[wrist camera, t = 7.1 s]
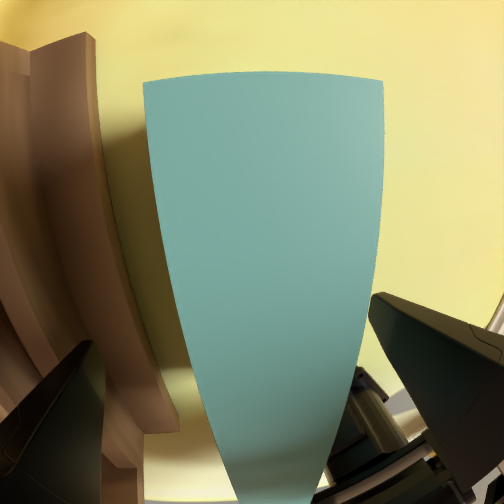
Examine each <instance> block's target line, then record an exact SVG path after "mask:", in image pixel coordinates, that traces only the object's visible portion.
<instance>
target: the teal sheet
mask: <svg viewBox="0 0 504 504" xmlns="http://www.w3.org/2000/svg"><path fill="white" fill-rule="evenodd" d="M143 94H144V107H145V118H146V129H147V138H148V147H149V155H150V163H151V171H152V178H153V185H154V192H155V199H156V205H157V211H158V217H159V223H160V229H161V234H162V240H163V245H164V251H165V256H166V261H167V266H168V270H169V275H170V280H171V285H172V289H173V294H174V298H175V302H176V307H177V311H178V315H179V319H180V323H181V327H182V331H183V335H184V339H185V343H186V347H187V350H188V354H189V358H190V361H191V365H192V368H193V372H194V375H195V379H196V382H197V386H198V389H199V392H200V395H201V399H202V402H203V405H204V408H205V411H206V414H207V418H208V421H209V424H210V427H211V430H212V433H213V435H214V438H215V441H216V444H217V447H218V450H219V452H220V455H221V458H222V461H223V463H224V466H225V469H226V471H227V474H228V476H229V479H230V481H231V484H232V487H233V489H234V491H235V494H236V496H237V499H238V501H239V503H240V504H310V502H311V500H312V498H313V495H314V493H315V491H316V488H317V486H318V483H319V481H320V478H321V476H322V473H323V471H324V468H325V465H326V463H327V460H328V457H329V454H330V452H331V449H332V446H333V443H334V440H335V437H336V434H337V431H338V428H339V425H340V421H341V418H342V415H343V412H344V408H345V405H346V401H347V398H348V394H349V391H350V387H351V383H352V380H353V376H354V372H355V368H356V364H357V359H358V355H359V351H360V346H361V342H362V337H363V332H364V328H365V323H366V317H367V312H368V307H369V301H370V295H371V289H372V283H373V276H374V269H375V262H376V254H377V246H378V237H379V228H380V217H381V205H382V190H383V170H384V96H383V81H380V80H373V79H367V78H359V77H351V76H343V75H332V74H320V73H304V72H232V73H216V74H203V75H193V76H184V77H176V78H169V79H162V80H156V81H150V82H144V83H143Z"/></svg>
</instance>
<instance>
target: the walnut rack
mask: <svg viewBox="0 0 504 504" xmlns="http://www.w3.org/2000/svg"><path fill="white" fill-rule="evenodd" d="M83 340H95V341H96V343H97V345H98V347H99V349H100V351H101V354H102V356H103V358H104V361H105V411H104V422H103V435H102V453H101V504H144V475H143V438H144V434H152V433H168V432H179V416H178V414H177V412H176V410H175V407H174V405H173V403H172V400H171V398H170V396H169V393H168V391H167V388H166V386H165V383H164V381H163V378H162V376H161V373H160V371H159V368H158V366H157V363H156V360H155V358H154V355H153V352H152V349H151V347H150V344H149V341H148V338H147V335H146V332H145V329H144V326H143V323H142V320H141V317H140V314H139V311H138V307H137V304H136V301H135V298H134V294H133V291H132V287H131V284H130V280H129V277H128V273H127V269H126V265H125V262H124V258H123V254H122V250H121V245H120V241H119V237H118V233H117V228H116V224H115V219H114V214H113V209H112V204H111V199H110V193H109V188H108V182H107V176H106V170H105V163H104V156H103V149H102V141H101V132H100V123H99V113H98V100H97V85H96V57H95V39H94V38H93V37H92V36H91V35H89V34H88V33H87V32H83V33H80V34H76V35H73V36H70V37H67V38H64V39H62V40H59V41H56V42H53V43H51V44H48V45H45V46H43V47H40V48H38V49H36V50H33V51H31V52H30V51H27V50H24V49H21V48H19V47H16V46H13V45H10V44H7V43H4V42H1V41H0V423H1V422H2V421H3V420H4V419H5V418H6V417H7V416H8V415H9V413H10V412H11V411H12V410H13V409H14V408H15V407H16V406H18V404H19V403H20V402H21V401H22V400H23V399H24V398H25V397H26V396H27V395H28V394H29V393H30V392H31V391H32V390H33V388H34V387H35V386H36V385H37V384H38V383H39V382H40V381H41V380H42V379H43V378H44V377H45V376H46V375H47V374H48V373H49V372H50V371H51V370H52V369H53V368H54V367H55V366H56V365H57V364H58V363H60V362H61V361H62V360H63V359H64V358H65V357H66V356H67V355H68V354H69V353H70V352H71V351H72V350H73V349H74V348H75V347H76V346H77V345H78V344H79V343H80V342H81V341H83Z"/></svg>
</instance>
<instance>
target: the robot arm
mask: <svg viewBox="0 0 504 504" xmlns="http://www.w3.org/2000/svg"><path fill="white" fill-rule="evenodd" d="M368 318H369V321H370V323H371V325H372V327H373V330H374V332H375V334H376V336H377V338H378V340H379V342H380V344H381V346H382V348H383V350H384V352H385V354H386V356H387V358H388V360H389V361H390V363H391V364H392V366H393V368H394V369H395V371H396V373H397V374H398V376H399V378H400V379H401V381H402V383H403V385H404V386H405V388H406V390H407V391H408V393H409V395H410V397H411V398H412V400H413V402H414V403H415V405H416V407H417V409H418V411H419V412H420V414H421V416H422V418H423V419H424V421H425V423H426V425H427V427H428V428H429V429H428V428H427V429H426V430H424V431H423V432H422V433H421V435H420V436H418V437H417V438H415V439H414V440H412V441H411V442H408V441H407V439H406V438H405V436H404V434H403V433H402V431H401V430H400V428H399V427H398V425H397V423H396V422H395V420H394V419H393V417H392V416H391V414H390V413H389V411H388V409H387V408H386V406H385V405H384V403H385V402H386V401H387V400H388V399H389V396H388V395H387V393H386V392H385V391H384V390H383V389H382V388H381V387H380V386H379V384H378V383H377V382H376V381H375V380H374V379H373V378H372V377H371V376H370V374H369V373H368V372H367V371H366V370H365V369H364V368H363V367H358V368H356V369H355V372H354V376H353V380H352V383H351V387H350V391H349V394H348V398H347V401H346V405H345V408H344V412H343V415H342V418H341V421H340V425H339V428H338V431H337V434H336V437H335V440H334V443H333V446H332V449H331V452H330V454H329V457H328V460H327V463H326V465H325V468H324V473H325V476H326V478H327V480H328V483H329V485H330V488H327V489H325V490H323V491H321V492H318V493H316V494H314V495H313V498H312V500H311V502H310V504H472V503H473V502H475V501H476V497H475V494H474V492H473V490H472V488H471V487H472V486H474V485H475V484H476V483H477V482H479V481H480V480H481V479H482V478H484V477H485V476H486V475H487V474H488V473H490V472H491V471H492V470H493V469H494V468H495V467H497V468H498V469H499V471H500V472H501V474H500V475H499V476H498V477H497V478H496V479H494V480H493V481H492V482H491V483H490V484H489V485H488V488H487V494H486V498H485V502H484V504H504V335H501V334H498V333H495V332H492V331H488V330H486V329H483V328H480V327H477V326H475V325H472V324H468V323H467V322H464V321H461V320H458V319H456V318H453V317H450V316H448V315H445V314H442V313H440V312H437V311H434V310H432V309H429V308H426V307H424V306H421V305H418V304H415V303H413V302H410V301H407V300H405V299H402V298H399V297H396V296H394V295H391V294H388V293H386V292H379V293H375V294H373V295H372V297H371V301H370V306H369V312H368ZM104 411H105V361H104V358H103V356H102V354H101V351H100V349H99V347H98V345H97V343H96V341H95V340H83V341H81V342H80V343H79V344H78V345H77V346H76V347H75V348H74V349H73V350H72V351H71V352H70V353H69V354H68V355H67V356H66V357H65V358H64V359H63V360H62V361H61V362H60V363H58V364H57V365H56V366H55V367H54V368H53V369H52V370H51V371H50V372H49V373H48V374H47V375H46V376H45V377H44V378H43V379H42V380H41V381H40V382H39V383H38V384H37V385H36V386H35V387H34V388H33V390H32V391H31V392H30V393H29V394H28V395H27V396H26V397H25V398H24V399H23V400H22V401H21V402H20V403H19V404H18V406H16V407H15V408H14V409H13V410H12V411H11V412H10V413H9V415H8V416H7V417H6V418H5V419H4V420H3V421H2V422H1V423H0V504H101V453H102V435H103V422H104ZM427 455H429V456H430V459H429V460H428V461H426V462H425V460H424V459H423V458H424V457H425V456H427Z"/></svg>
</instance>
